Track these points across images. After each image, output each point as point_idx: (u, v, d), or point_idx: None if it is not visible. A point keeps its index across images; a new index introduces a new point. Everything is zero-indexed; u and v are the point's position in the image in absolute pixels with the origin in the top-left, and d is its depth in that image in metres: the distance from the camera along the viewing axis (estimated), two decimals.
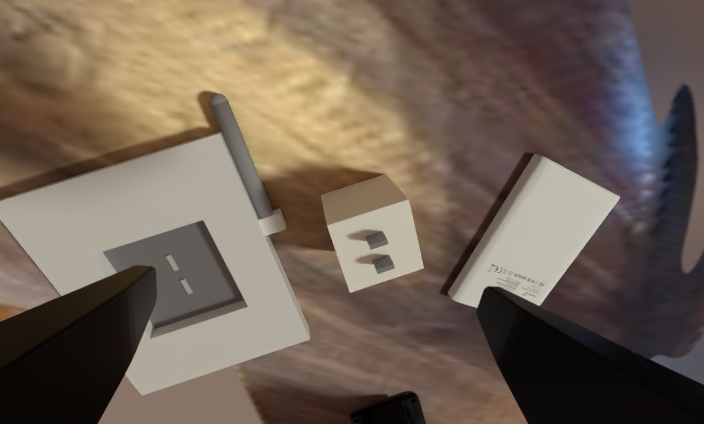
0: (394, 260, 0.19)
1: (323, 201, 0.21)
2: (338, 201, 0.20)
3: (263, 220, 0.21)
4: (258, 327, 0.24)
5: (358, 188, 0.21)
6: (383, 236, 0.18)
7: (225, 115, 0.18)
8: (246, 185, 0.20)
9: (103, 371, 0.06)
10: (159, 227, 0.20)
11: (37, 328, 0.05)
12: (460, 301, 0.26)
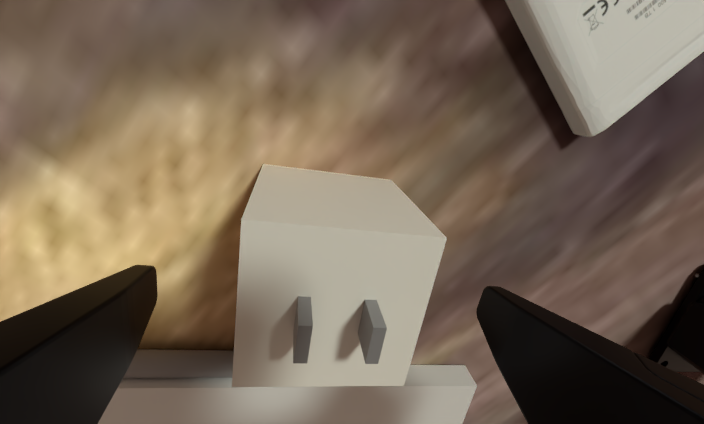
0: (384, 293, 0.08)
1: None
2: None
3: None
4: None
5: None
6: (297, 317, 0.07)
7: None
8: (182, 377, 0.13)
9: (103, 371, 0.06)
10: None
11: (37, 328, 0.05)
12: (610, 122, 0.12)
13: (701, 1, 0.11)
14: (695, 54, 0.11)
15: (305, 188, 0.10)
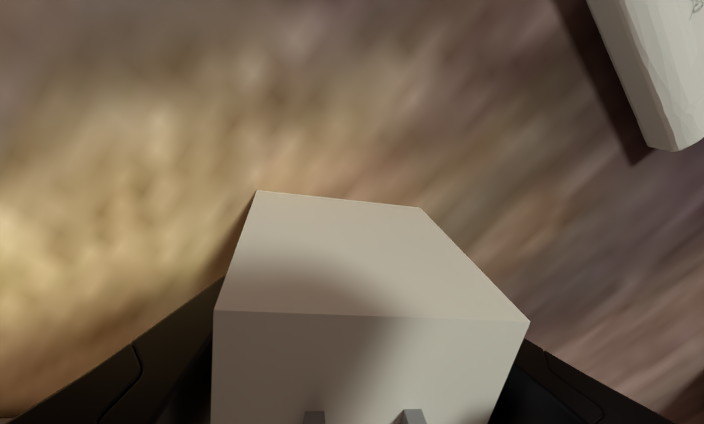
0: (433, 399, 0.05)
1: None
2: None
3: None
4: None
5: None
6: None
7: None
8: None
9: None
10: None
11: (189, 332, 0.05)
12: None
13: None
14: None
15: (313, 232, 0.07)
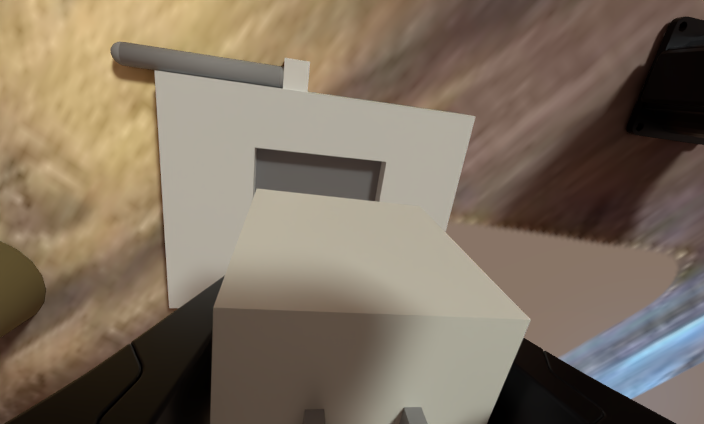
0: (433, 397, 0.05)
1: None
2: None
3: (285, 82, 0.16)
4: (419, 165, 0.19)
5: None
6: None
7: (136, 51, 0.15)
8: (233, 77, 0.16)
9: None
10: (245, 194, 0.18)
11: (189, 332, 0.05)
12: None
13: None
14: None
15: (313, 230, 0.07)
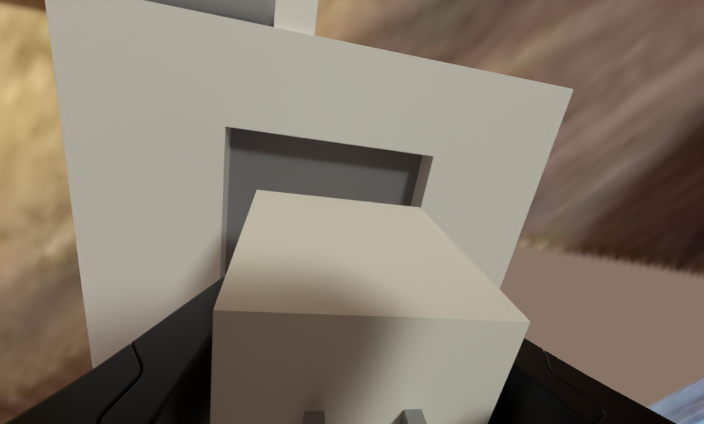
0: (433, 400, 0.05)
1: None
2: None
3: (278, 16, 0.10)
4: (482, 163, 0.12)
5: None
6: None
7: None
8: (188, 4, 0.09)
9: None
10: (210, 202, 0.11)
11: (189, 332, 0.05)
12: None
13: None
14: None
15: (313, 232, 0.07)
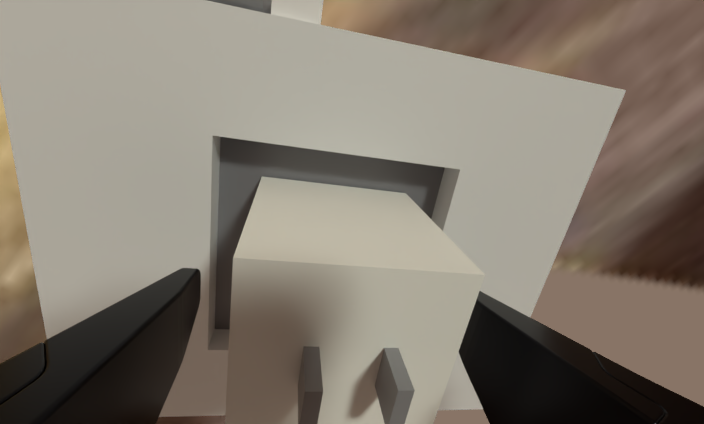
0: (407, 339, 0.07)
1: None
2: None
3: (277, 1, 0.08)
4: (517, 176, 0.10)
5: None
6: (303, 376, 0.06)
7: None
8: None
9: (162, 371, 0.06)
10: (196, 224, 0.09)
11: (112, 330, 0.05)
12: None
13: None
14: None
15: (311, 209, 0.08)
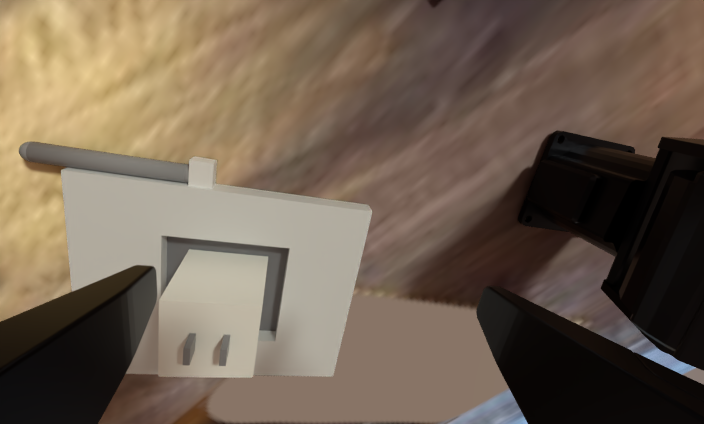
0: (234, 331, 0.17)
1: None
2: None
3: (190, 180, 0.18)
4: (321, 251, 0.20)
5: None
6: (185, 343, 0.16)
7: (43, 153, 0.16)
8: (140, 175, 0.17)
9: (103, 371, 0.06)
10: None
11: (37, 328, 0.05)
12: None
13: None
14: None
15: (204, 272, 0.18)
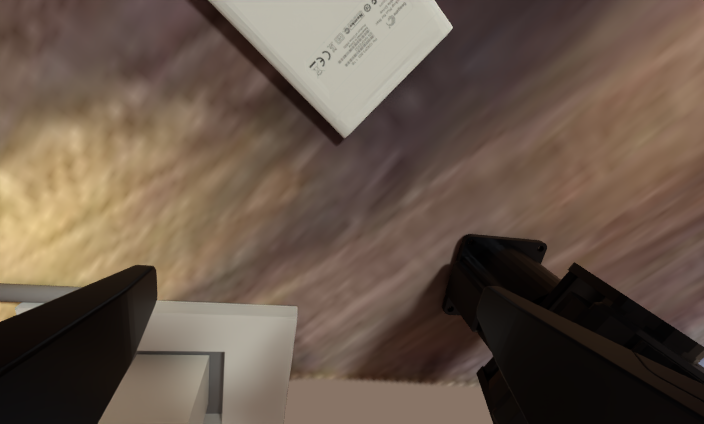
0: None
1: None
2: None
3: None
4: (254, 352, 0.23)
5: None
6: None
7: None
8: None
9: (103, 371, 0.06)
10: None
11: (37, 328, 0.05)
12: (352, 128, 0.19)
13: (388, 51, 0.17)
14: (396, 82, 0.18)
15: (144, 383, 0.20)
